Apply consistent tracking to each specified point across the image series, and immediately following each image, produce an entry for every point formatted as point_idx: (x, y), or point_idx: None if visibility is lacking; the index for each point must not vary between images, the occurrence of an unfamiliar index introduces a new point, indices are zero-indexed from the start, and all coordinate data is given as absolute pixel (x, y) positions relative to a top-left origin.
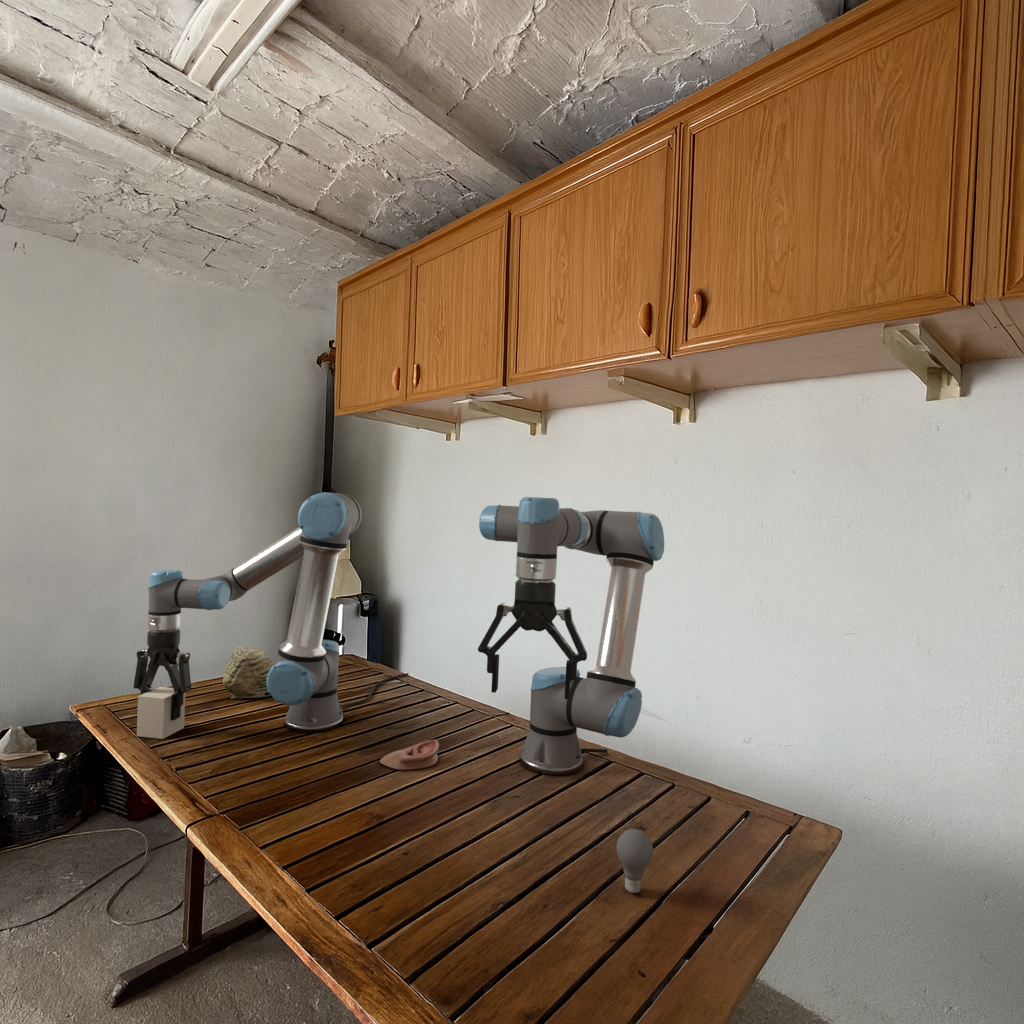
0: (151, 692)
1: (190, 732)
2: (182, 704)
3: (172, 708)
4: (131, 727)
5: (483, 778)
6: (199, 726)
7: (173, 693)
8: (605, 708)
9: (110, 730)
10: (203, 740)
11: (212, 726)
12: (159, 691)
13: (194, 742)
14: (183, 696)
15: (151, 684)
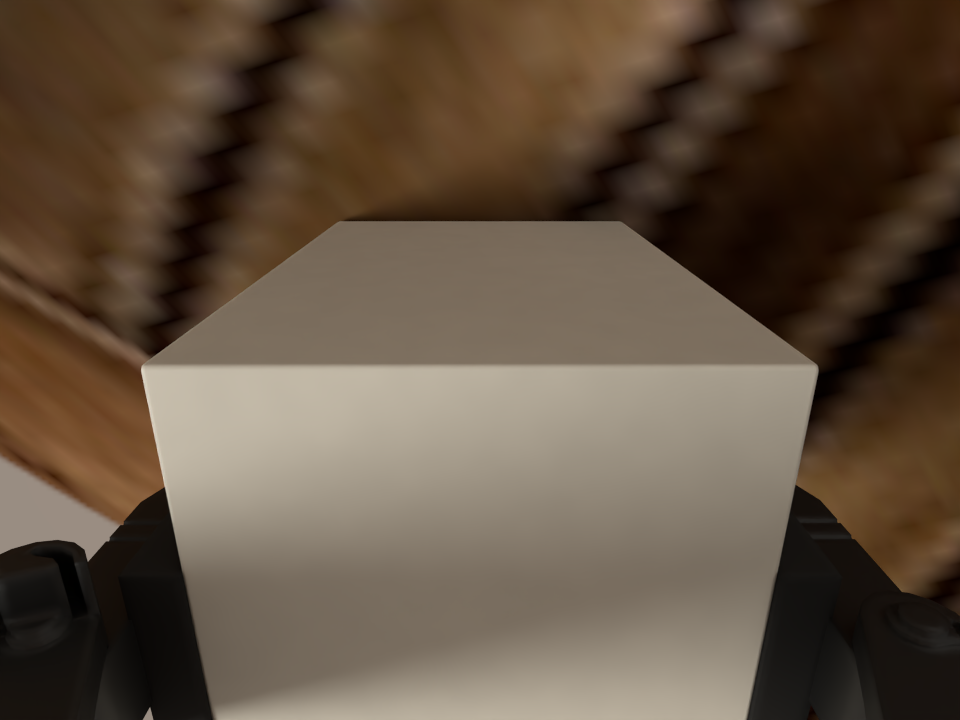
0: (292, 698)
1: (740, 306)
2: (804, 501)
3: None
4: (144, 334)
5: None
6: (747, 136)
7: (720, 648)
8: None
9: (47, 436)
10: (937, 434)
11: (883, 98)
12: (382, 621)
13: (880, 484)
14: (885, 576)
15: (83, 677)
